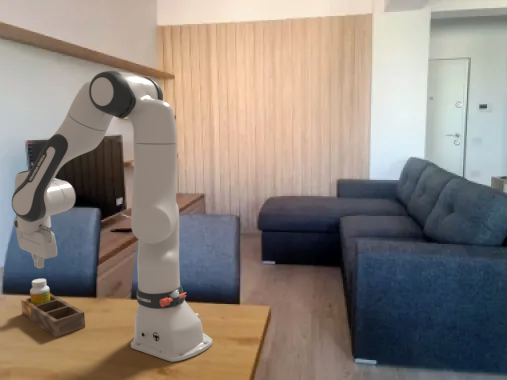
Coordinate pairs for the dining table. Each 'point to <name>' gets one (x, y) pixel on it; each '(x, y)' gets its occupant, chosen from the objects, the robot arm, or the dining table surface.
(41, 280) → the supplement bottle
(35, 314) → the box
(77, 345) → the dining table surface
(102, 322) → the dining table surface
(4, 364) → the dining table surface
